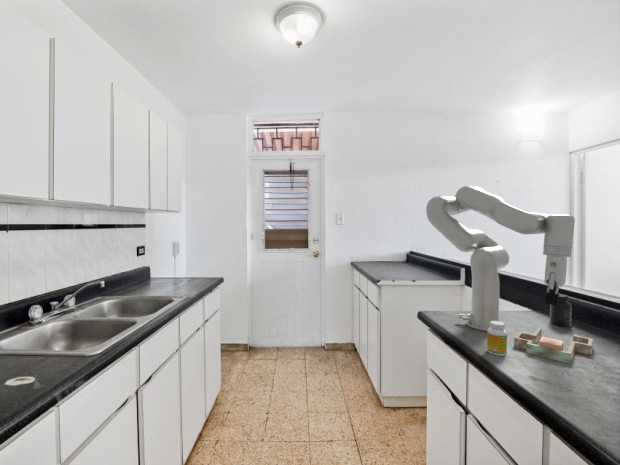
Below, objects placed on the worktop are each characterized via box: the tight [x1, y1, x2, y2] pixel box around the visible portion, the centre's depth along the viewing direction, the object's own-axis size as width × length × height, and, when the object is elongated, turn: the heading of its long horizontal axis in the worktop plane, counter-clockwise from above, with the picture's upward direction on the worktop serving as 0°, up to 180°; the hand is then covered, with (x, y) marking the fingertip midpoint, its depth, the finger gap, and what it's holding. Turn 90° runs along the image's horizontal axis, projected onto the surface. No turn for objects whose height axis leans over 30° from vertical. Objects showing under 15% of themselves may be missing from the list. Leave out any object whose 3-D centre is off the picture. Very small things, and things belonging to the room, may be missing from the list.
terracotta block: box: [538, 336, 564, 351], centre depth 98 cm, size 6×6×4 cm
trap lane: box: [513, 326, 594, 365], centre depth 103 cm, size 19×21×3 cm
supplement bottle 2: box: [549, 293, 573, 328], centre depth 126 cm, size 7×7×12 cm
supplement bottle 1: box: [486, 321, 508, 357], centre depth 100 cm, size 5×5×10 cm
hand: (551, 304), depth 106 cm, fingers closed
